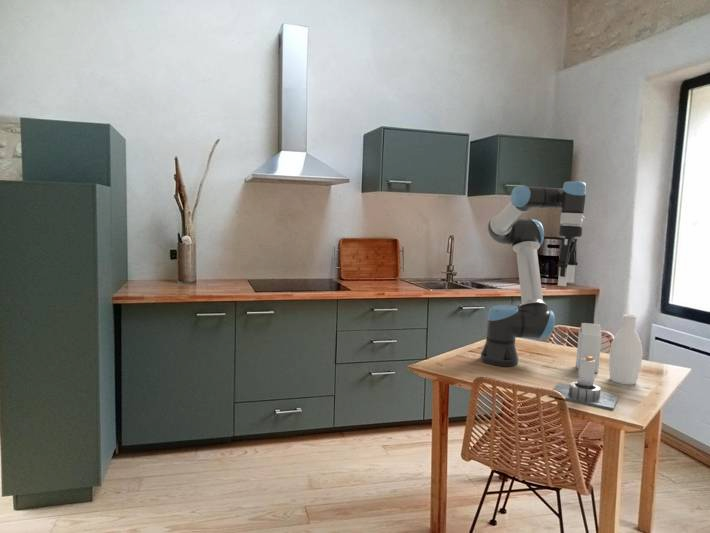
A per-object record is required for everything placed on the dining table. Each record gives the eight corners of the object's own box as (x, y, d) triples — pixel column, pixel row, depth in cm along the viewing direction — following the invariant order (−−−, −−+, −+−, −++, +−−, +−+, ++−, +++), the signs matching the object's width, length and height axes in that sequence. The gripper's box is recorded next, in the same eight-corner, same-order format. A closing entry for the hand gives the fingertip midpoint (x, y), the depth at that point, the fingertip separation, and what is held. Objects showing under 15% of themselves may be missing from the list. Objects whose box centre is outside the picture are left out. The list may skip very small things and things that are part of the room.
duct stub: (585, 397, 180) (589, 359, 178) (573, 392, 184) (576, 355, 183) (595, 395, 182) (599, 358, 181) (583, 391, 186) (586, 354, 185)
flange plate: (548, 396, 182) (549, 385, 181) (558, 384, 195) (559, 374, 195) (613, 410, 171) (614, 398, 171) (619, 397, 184) (620, 386, 184)
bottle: (638, 388, 196) (645, 319, 193) (605, 381, 202) (611, 315, 199) (640, 380, 205) (647, 315, 203) (608, 374, 211) (615, 311, 209)
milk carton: (598, 373, 213) (602, 326, 211) (579, 371, 214) (583, 324, 212) (593, 368, 220) (598, 322, 218) (575, 366, 221) (579, 321, 219)
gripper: (575, 225, 179) (570, 288, 181) (588, 226, 200) (582, 282, 202) (552, 224, 183) (547, 286, 185) (567, 224, 204) (562, 280, 206)
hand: (565, 284), depth 193 cm, fingers open, 13 cm apart
